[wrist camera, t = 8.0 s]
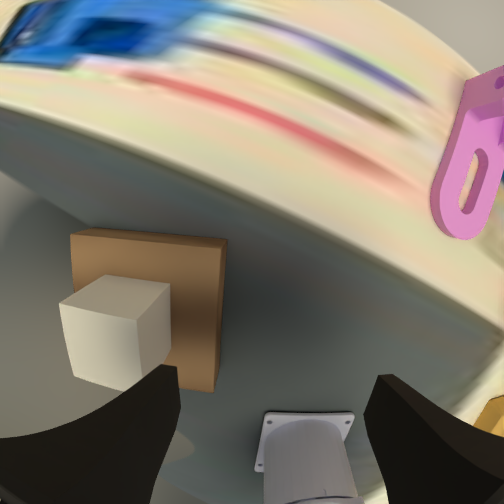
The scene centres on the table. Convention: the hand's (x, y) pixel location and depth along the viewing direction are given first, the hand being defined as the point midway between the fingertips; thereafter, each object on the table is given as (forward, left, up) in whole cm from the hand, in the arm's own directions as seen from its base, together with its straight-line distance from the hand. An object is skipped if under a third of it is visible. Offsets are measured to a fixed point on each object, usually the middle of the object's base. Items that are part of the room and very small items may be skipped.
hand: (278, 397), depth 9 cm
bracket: (+12, -15, -11) cm, 22 cm away
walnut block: (-2, +8, -10) cm, 13 cm away
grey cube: (-1, +8, -7) cm, 11 cm away
